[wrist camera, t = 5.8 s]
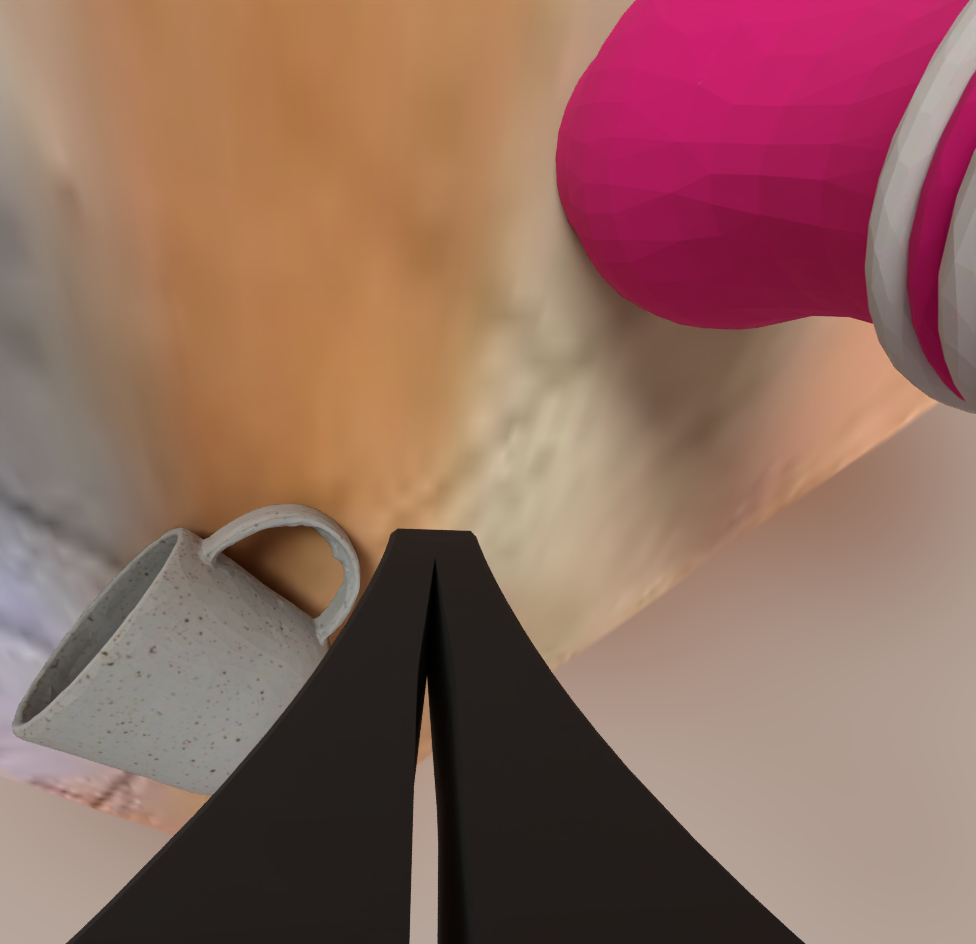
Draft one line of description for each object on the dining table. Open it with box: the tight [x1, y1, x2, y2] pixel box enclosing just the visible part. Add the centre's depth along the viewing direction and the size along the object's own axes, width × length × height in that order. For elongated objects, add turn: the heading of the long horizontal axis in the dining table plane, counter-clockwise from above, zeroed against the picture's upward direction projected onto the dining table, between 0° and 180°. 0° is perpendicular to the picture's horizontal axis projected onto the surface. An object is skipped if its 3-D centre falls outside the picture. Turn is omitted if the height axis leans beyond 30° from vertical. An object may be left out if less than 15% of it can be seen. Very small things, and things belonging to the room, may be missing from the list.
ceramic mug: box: [12, 504, 360, 795], centre depth 19 cm, size 10×8×7 cm
